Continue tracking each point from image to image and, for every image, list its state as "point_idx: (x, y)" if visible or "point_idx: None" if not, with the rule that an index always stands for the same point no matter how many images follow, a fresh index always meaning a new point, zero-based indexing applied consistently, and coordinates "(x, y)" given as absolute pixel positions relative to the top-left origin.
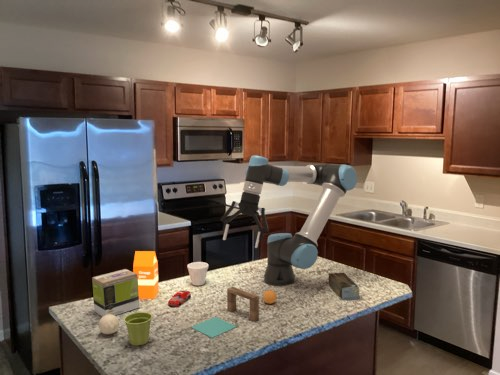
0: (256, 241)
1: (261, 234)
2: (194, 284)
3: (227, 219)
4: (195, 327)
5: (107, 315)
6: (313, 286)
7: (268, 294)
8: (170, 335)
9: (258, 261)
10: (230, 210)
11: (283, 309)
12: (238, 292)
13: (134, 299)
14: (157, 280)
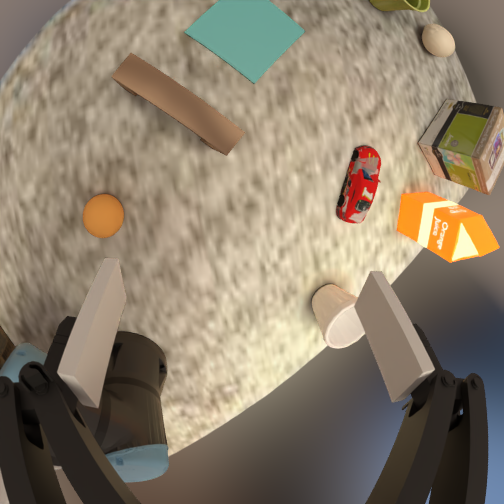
0: (99, 294)
1: (55, 361)
2: (334, 285)
3: (449, 408)
4: (293, 26)
5: (452, 40)
6: (41, 341)
7: (101, 204)
8: (335, 4)
9: (208, 430)
10: (469, 490)
11: (63, 173)
12: (194, 97)
13: (438, 138)
14: (418, 235)
